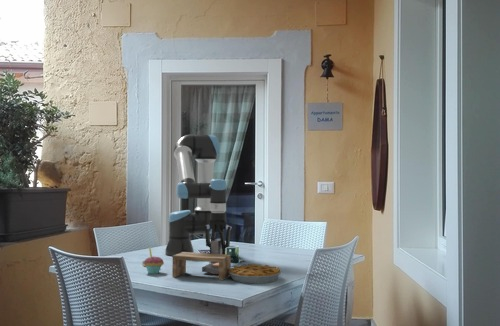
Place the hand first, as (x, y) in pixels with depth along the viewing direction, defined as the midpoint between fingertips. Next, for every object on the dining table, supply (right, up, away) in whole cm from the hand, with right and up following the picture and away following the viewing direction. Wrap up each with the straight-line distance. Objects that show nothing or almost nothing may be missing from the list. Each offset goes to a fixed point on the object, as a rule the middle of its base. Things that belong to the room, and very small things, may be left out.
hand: (217, 261), depth 249 cm
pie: (+17, -3, -25) cm, 31 cm away
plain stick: (-31, -3, -1) cm, 31 cm away
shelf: (-5, -2, -21) cm, 22 cm away
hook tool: (+1, -1, -7) cm, 7 cm away
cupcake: (-27, -2, -14) cm, 31 cm away
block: (+2, -2, -14) cm, 14 cm away
